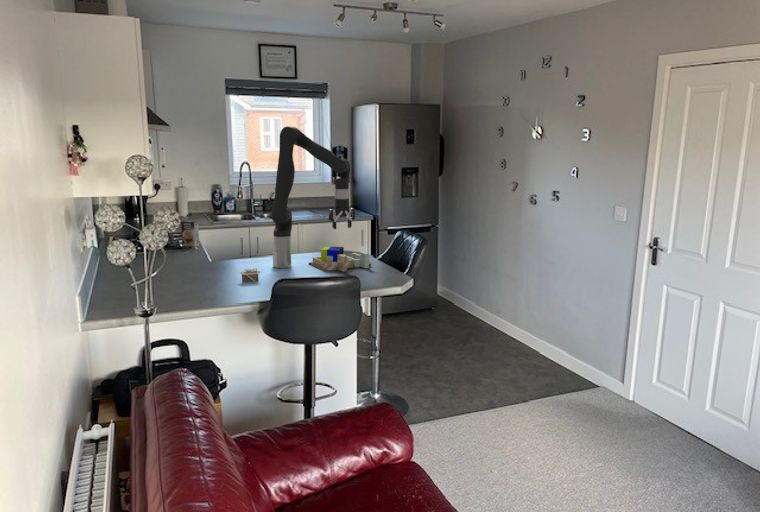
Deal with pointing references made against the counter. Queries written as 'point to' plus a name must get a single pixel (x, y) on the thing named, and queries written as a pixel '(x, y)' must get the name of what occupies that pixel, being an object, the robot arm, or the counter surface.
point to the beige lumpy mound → (334, 263)
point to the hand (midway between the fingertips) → (342, 228)
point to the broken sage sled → (360, 259)
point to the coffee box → (190, 233)
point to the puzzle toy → (331, 253)
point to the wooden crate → (250, 275)
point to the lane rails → (323, 268)
